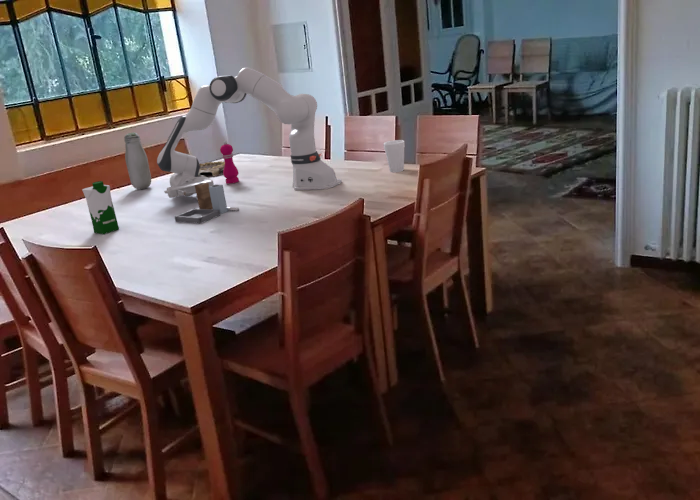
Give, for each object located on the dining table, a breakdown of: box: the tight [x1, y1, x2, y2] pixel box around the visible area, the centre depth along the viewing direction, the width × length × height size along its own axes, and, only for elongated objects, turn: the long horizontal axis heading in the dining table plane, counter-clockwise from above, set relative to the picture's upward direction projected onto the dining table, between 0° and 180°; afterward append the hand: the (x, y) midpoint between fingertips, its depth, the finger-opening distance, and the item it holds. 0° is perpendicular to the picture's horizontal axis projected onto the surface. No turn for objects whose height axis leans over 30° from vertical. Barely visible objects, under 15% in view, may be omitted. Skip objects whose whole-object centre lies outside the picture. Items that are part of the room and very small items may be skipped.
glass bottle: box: [123, 132, 152, 190], centre depth 340 cm, size 10×10×28 cm
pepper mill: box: [219, 140, 240, 185], centre depth 329 cm, size 7×7×20 cm
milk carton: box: [81, 180, 120, 235], centre depth 271 cm, size 9×9×20 cm
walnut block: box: [195, 183, 213, 210], centre depth 285 cm, size 4×4×11 cm
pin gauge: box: [227, 206, 240, 212], centre depth 280 cm, size 10×2×2 cm
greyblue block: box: [209, 184, 229, 215], centre depth 278 cm, size 4×4×11 cm
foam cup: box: [383, 139, 406, 173], centre depth 309 cm, size 10×9×13 cm
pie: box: [198, 160, 225, 178], centre depth 362 cm, size 28×27×5 cm
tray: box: [174, 207, 221, 224], centre depth 274 cm, size 14×11×2 cm
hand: (195, 191), depth 295 cm, fingers open, 8 cm apart
